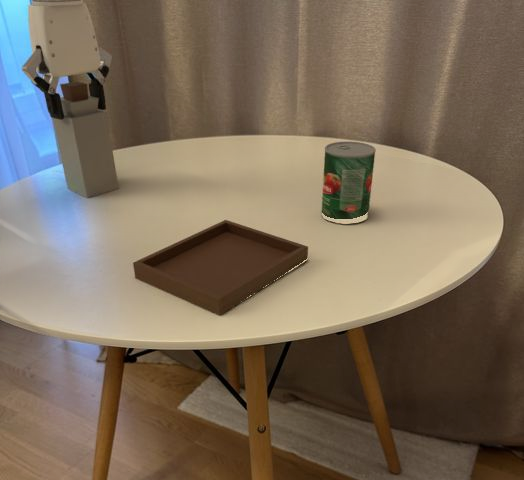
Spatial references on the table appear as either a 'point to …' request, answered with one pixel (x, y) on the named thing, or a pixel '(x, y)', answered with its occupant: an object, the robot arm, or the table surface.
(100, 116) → the perfume bottle
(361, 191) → the canned tomato
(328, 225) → the table surface
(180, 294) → the tray
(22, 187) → the table surface
